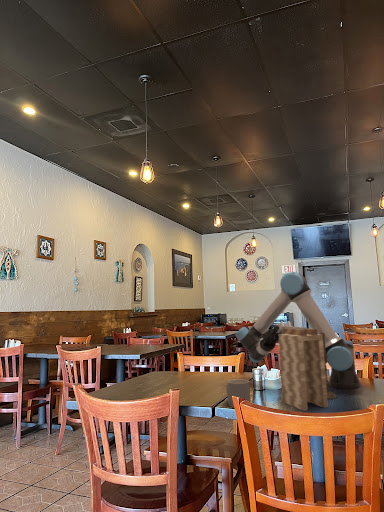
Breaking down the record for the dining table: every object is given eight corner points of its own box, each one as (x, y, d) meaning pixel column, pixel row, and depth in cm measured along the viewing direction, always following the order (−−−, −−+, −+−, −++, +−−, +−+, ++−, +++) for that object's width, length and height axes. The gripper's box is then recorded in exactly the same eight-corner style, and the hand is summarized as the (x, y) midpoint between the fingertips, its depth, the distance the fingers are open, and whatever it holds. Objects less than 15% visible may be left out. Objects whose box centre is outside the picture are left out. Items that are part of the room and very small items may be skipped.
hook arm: (273, 332, 190) (273, 325, 191) (280, 332, 191) (279, 324, 192) (301, 335, 169) (300, 327, 169) (308, 335, 170) (307, 326, 170)
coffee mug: (254, 405, 170) (253, 382, 171) (234, 408, 167) (232, 384, 168) (241, 399, 183) (239, 377, 184) (221, 401, 179) (220, 379, 181)
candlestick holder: (320, 393, 187) (316, 330, 191) (339, 396, 181) (334, 330, 185) (313, 397, 180) (308, 331, 184) (333, 400, 174) (327, 332, 178)
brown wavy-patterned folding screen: (282, 401, 175) (278, 328, 179) (305, 398, 179) (300, 327, 183) (303, 410, 160) (298, 330, 164) (328, 407, 164) (322, 329, 167)
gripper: (282, 350, 201) (303, 329, 184) (254, 353, 196) (273, 331, 178) (277, 337, 206) (298, 315, 188) (250, 339, 200) (268, 317, 183)
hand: (286, 323), depth 183 cm, fingers closed on hook arm, 3 cm apart
